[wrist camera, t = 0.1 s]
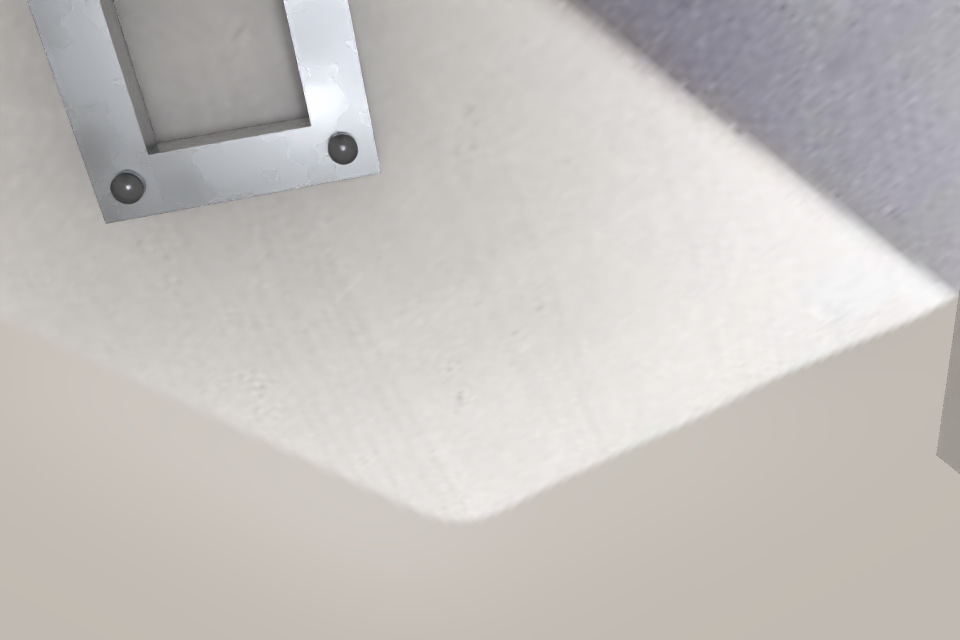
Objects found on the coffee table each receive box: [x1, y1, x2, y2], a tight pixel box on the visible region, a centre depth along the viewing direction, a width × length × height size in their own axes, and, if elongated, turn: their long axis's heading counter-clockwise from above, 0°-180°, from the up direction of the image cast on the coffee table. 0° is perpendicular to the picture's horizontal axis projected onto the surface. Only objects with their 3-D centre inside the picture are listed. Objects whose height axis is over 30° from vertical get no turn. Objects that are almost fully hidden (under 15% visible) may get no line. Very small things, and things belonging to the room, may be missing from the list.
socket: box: [27, 0, 381, 224], centre depth 32 cm, size 11×11×3 cm
